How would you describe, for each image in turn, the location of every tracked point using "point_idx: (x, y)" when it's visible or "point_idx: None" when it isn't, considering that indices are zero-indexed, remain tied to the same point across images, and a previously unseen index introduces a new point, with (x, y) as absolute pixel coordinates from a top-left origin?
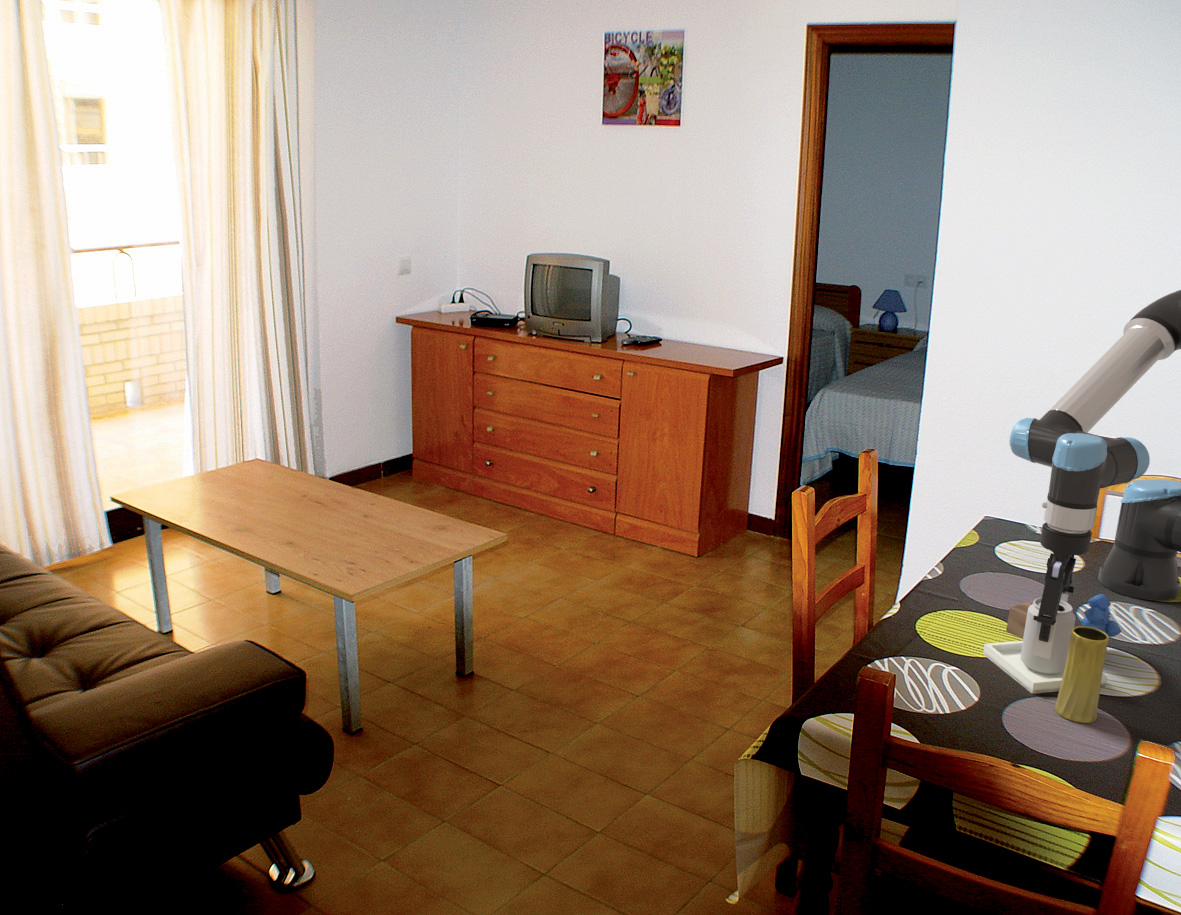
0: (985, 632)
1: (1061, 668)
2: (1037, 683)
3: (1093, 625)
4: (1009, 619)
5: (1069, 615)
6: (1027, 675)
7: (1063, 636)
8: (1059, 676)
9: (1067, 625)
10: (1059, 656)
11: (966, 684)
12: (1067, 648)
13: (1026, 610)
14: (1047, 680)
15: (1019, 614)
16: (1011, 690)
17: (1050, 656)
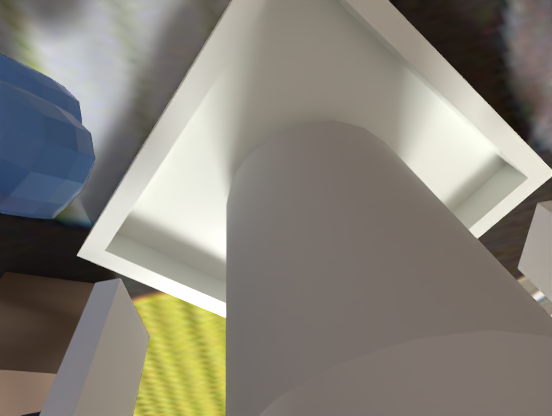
0: (175, 373)
1: (372, 135)
2: (542, 162)
3: (6, 164)
4: None
5: (526, 405)
6: (498, 208)
7: (484, 251)
8: (356, 123)
9: (539, 314)
10: (417, 177)
11: (535, 292)
12: (390, 177)
13: (38, 411)
14: (510, 142)
15: None
16: (522, 205)
17: (549, 206)
